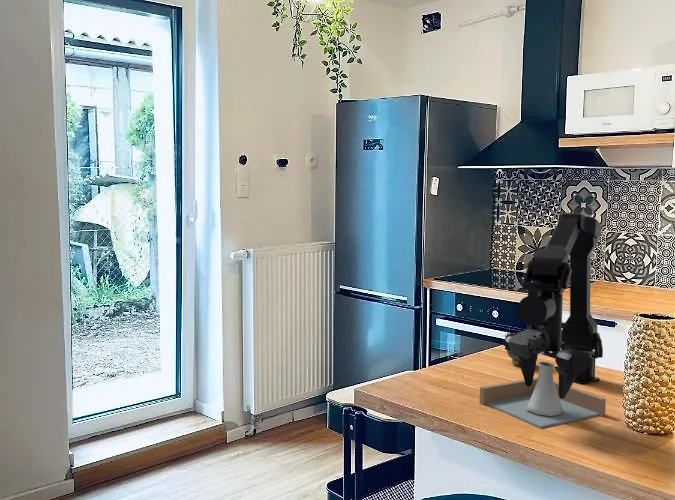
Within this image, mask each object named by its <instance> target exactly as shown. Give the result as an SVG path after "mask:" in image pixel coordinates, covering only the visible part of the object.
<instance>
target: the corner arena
mask: <svg viewBox="0 0 675 500" xmlns="http://www.w3.org/2000/svg"><path fill="white" fill-rule="evenodd" d="M537 380H538V376H536V377H533V381H532V385H531V386H526V383H525V380H524V379H520V380H514V381H507V382H502V383H501V382H500V383H498V384H496V383H495V384H491V385H486V386H480V388H479V404H482V405H487V406H489V407H491V408H493V409H494V410H498V411H500V412H502V413H505V414H507V415H509V416H511V417H513V418H516V419H518V420H521V421H522V422H525V423H528V424H530V425H532V426H534V427H536V428H538V429H543V428H544V429H545V428H548V427H553V426H556V425H562V424H565V423H570V422H575V421H579V420H583V419H584V418H585V419H588V418H593V417H604V416H606V402H607V400H606V398H604V397H602V396H599V395H596V394H593V393H590V392H588V391H585V390H581V389H578V388H575V387H574V386H573V387H572V386H571V387H570V389H569V391H568V393H567V394H566V396H565V398H563V399H560V398H559V400H560V403H561V405H562V409H563V411H562V414H560V415H555V416H545V415H538V414H535V413H532V412H530V411H527V410H526V409H527V406H528V404H529V401H530V399H531V396H532V394H533V391H534V389H535V386H536V384H537ZM554 384H555V388H556V391H557V394H558V397H559V381H555V380H554Z"/></svg>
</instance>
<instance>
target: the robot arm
mask: <svg viewBox="0 0 675 500" xmlns="http://www.w3.org/2000/svg"><path fill="white" fill-rule="evenodd" d="M551 234H552V235H551V237H550V239H549V241H548V243H547V244H546V246H545V247H544V248H541V249H538V250H537V251H536V252H535V253H534V255H533V256H532V257H531V259H530V260H529V261H528V264H527V268H526V271H525V275H524V279H523V282H522V288H521V289H522V290H523V291H527V296H525V297H523V298H521V300H520V301H519V303H518V305H517V308H516V312H517V313H516V314H517V315H518V318H519V319H520V321H522V322H523V323H524V324H525V325H526V329H525V330H523V331H520V332H517V333H518V334H517V335H515V336H508V338H507V339H506V340H505V339H504V350H506V351H507V350H509V351H510V352H509V354H510V355H512V356H514V357H515V358H516V359H517V360H518V362H519V365H520V366H519V367H520V370H521V373H522V374H521V375H522V377H523V380H525V383H526V386H531V385H532V381H533V378H535V377H534V376H535V372H536V366H537V361H538V355H539V354H540V355H543V356H546V357H550V358H552V359H555V360H554V362H555V364H556V366H554V367H553V369H555V371H556V372H557V373H558V382H559V398H560V399H563V398H565V396H566V394H567V393H568V391H569V389H570V387H572V385H573V384H574V382H575V383H578V384H588V383H592V382H593V383H594V382H599V381H601V380H600V379H601V378H600V377H598V376H596V359H599V358H600V359H601V358H604V347H603V341H602V339H601V335H600V333H599V332H598V323H597V322H596V321H595V318H594V317H593V316H592V314H591V267H592V266H591V263H592V262H591V261H592V260H591V259H592V258H591V255H592V252H593V251H594V250H595V248H596V247H597V246H598V243H599V239H600V238H601V234H602V226H601V223H600V222H599V220H597V219H596V218H595V217H594V218H593V217H590V216H586V215H585V214H584V213H580V212H563V213H559V214H558V218H557V224H556V226H555V228H554V231H553V233H551ZM568 258H569V259H568ZM568 286H569V316H568V318H567V319H566V321H565V322H564V321H563V298H564V295H563V293H564V292H565V289H566V290H567V289H568Z"/></svg>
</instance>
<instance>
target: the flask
mask: <svg viewBox="0 0 675 500" xmlns="http://www.w3.org/2000/svg"><path fill="white" fill-rule="evenodd" d="M537 367H538V375H537V377H538V380H537V384H536V386H535V389H534V391H533V394H532V396H531V399H530V401H529V404H528V406H527V409H526V410H527V411H530V412H532V413H535V414H538V415H545V416H555V415H560V414H562V411H563V409H562V405H561V403H560V400H559V397H558V394H557V391H556V388H555V384H554V381H555V380H554V375H553V373H554V371H553V369H554V367H555V363H553V362H549V361H540V362H538V363H537Z"/></svg>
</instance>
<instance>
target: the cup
mask: <svg viewBox="0 0 675 500" xmlns="http://www.w3.org/2000/svg"><path fill="white" fill-rule="evenodd" d="M515 333H516V334H515ZM515 333H514V332H512V331H511V332H510V333H509V332H507V333H506V334H504V337H505V339H504V341H505V340H506V339H507V338H508V336H515V335H517V334H518V333H519V332H515ZM509 352H510V351H509V350H506V353H507V355H508V357H509V358H510V359H511V364H512V365H514V366H518V367H520V365H519V362H518V360H517V359H516V358H515V357H514V356H512V355H510V354H509Z"/></svg>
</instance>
